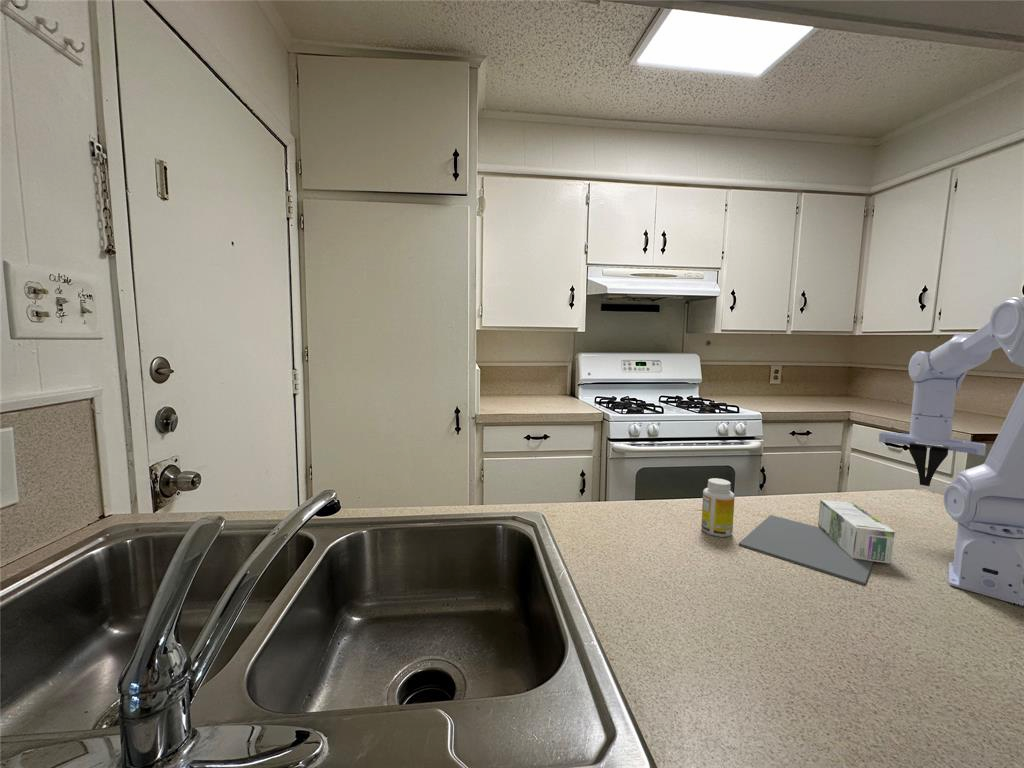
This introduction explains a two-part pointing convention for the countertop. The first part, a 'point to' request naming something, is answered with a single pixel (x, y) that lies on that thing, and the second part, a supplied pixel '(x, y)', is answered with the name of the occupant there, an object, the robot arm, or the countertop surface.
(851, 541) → the syrup box
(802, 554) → the mat
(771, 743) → the countertop surface
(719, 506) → the supplement bottle
